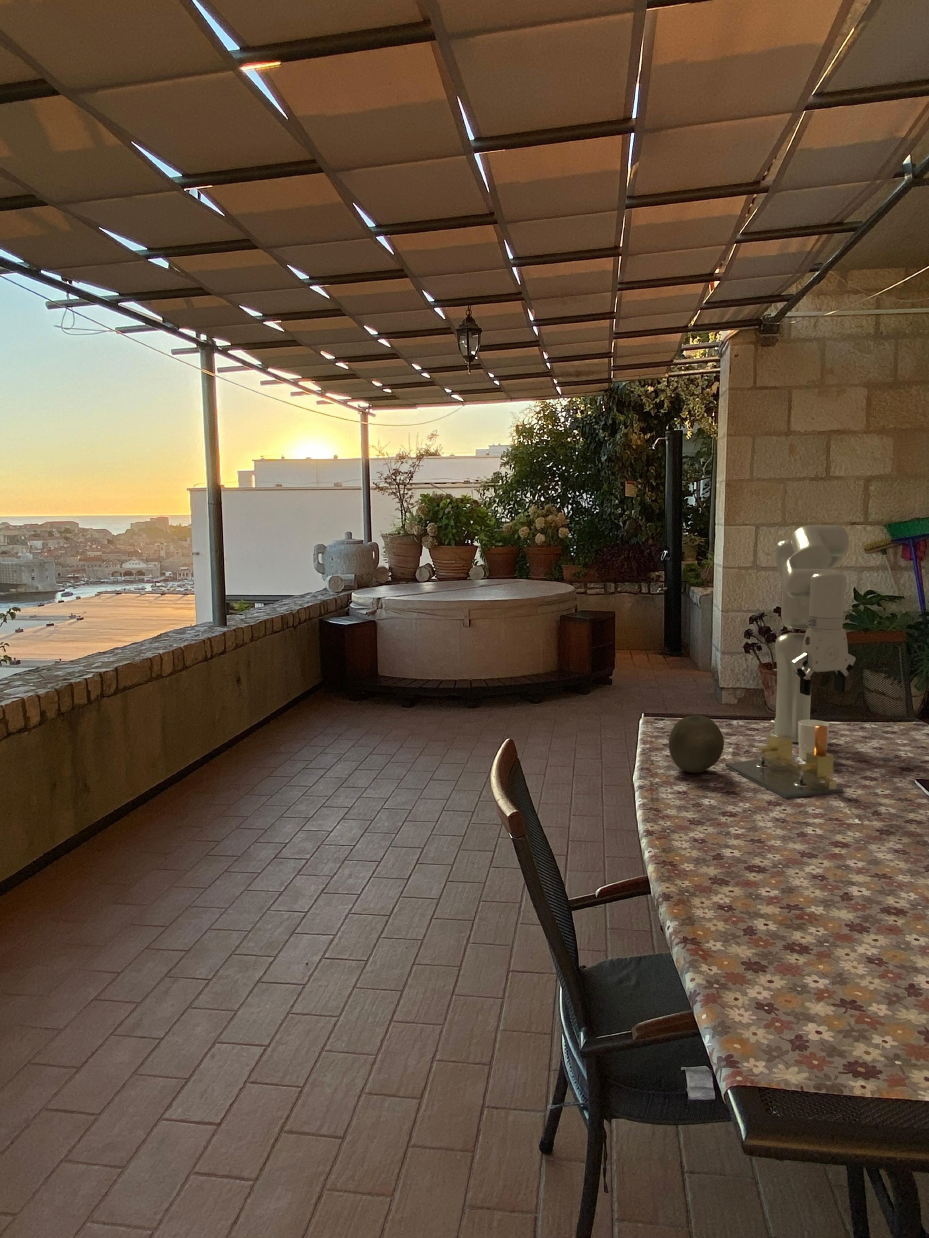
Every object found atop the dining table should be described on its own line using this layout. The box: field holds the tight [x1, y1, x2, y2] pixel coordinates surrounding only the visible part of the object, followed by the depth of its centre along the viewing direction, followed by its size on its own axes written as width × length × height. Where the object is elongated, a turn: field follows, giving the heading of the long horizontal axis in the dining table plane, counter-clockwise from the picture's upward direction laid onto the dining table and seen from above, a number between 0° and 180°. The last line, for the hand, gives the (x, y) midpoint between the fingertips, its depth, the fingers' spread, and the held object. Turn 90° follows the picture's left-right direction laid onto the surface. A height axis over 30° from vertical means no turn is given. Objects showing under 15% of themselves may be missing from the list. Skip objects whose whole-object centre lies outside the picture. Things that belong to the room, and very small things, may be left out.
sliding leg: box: [797, 725, 835, 783], centre depth 204 cm, size 4×8×14 cm, turn 105°
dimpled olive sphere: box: [668, 715, 725, 774], centre depth 218 cm, size 14×14×15 cm
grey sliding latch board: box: [724, 736, 844, 799], centre depth 212 cm, size 26×16×8 cm, turn 15°
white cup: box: [798, 719, 830, 761], centre depth 229 cm, size 8×8×10 cm
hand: (822, 692), depth 203 cm, fingers open, 9 cm apart
